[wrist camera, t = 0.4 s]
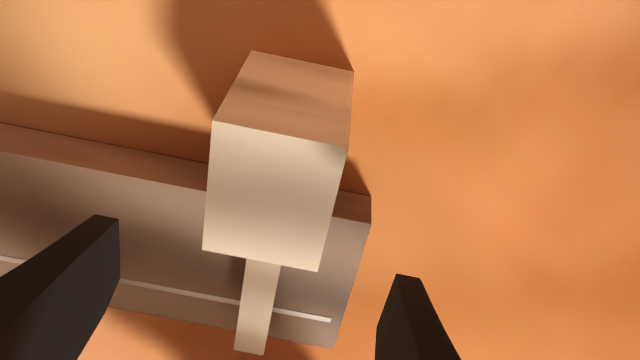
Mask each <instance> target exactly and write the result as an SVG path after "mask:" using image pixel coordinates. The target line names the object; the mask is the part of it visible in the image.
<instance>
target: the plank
mask: <svg viewBox="0 0 640 360" xmlns="http://www.w3.org/2000/svg"><path fill="white" fill-rule="evenodd" d="M208 167H209V164H205V163H200V162H195V161H190V160H185V159H180V158H175V157H170V156H165V155H160V154H155V153H150V152H145V151H140V150H135V149H130V148H125V147H120V146H115V145H110V144H105V143H100V142H95V141H90V140H84V139H79V138H74V137H69V136H64V135H59V134H54V133H49V132H44V131H39V130H34V129H29V128H24V127H19V126H14V125H9V124H4V123H0V277H1V276H2V275H4V274H6V273H7V272H9V271H11V270H12V269H14V268H16V267H17V266H19V265H20V264H22V263H24V262H25V261H27V260H28V259H30V258H31V257H33V256H34V255H36V254H37V253H39V252H40V251H42V250H43V249H45V248H46V247H48V246H49V245H51V244H52V243H54V242H55V241H57V240H58V239H60V238H61V237H62V236H64V235H65V234H67V233H68V232H70V231H71V230H72V229H74V228H75V227H77V226H78V225H80V224H81V223H82V222H84V221H85V220H87V219H88V218H90V217H91V216H93V215H95V214H97V215H102V216H107V217H112V218H117V219H119V238H120V275H121V277H120V280H119V282H118V284H117V287H116V289H115V291H114V294H113V296H112V298H111V301H110V303H109V305H108V307H112V308H117V309H123V310H128V311H133V312H139V313H144V314H149V315H155V316H160V317H165V318H170V319H176V320H181V321H186V322H192V323H197V324H202V325H208V326H213V327H218V328H224V329H229V330H234V331H236V329H237V322H238V315H239V308H240V301H241V294H242V287H243V280H244V273H245V266H246V259H247V258H241V257H236V256H231V255H226V254H221V253H216V252H211V251H205V250H202V243H203V230H204V217H205V205H206V192H207V180H208ZM370 227H371V196H366V195H361V194H356V193H351V192H346V191H341V190H338V192H337V196H336V200H335V204H334V208H333V212H332V216H331V220H330V224H329V228H328V232H327V236H326V240H325V244H324V248H323V252H322V256H321V260H320V264H319V268H318V272H313V271H308V270H303V269H298V268H293V267H288V266H283V265H281V268H280V273H279V279H278V284H277V289H276V294H275V299H274V304H273V309H272V315H271V320H270V325H269V330H268V335H267V337H271V338H277V339H282V340H287V341H293V342H298V343H303V344H309V345H314V346H319V347H325V348H330V349H333V348H334V345H335V341H336V338H337V335H338V331H339V328H340V325H341V322H342V318H343V315H344V312H345V309H346V305H347V302H348V299H349V295H350V292H351V289H352V286H353V282H354V279H355V276H356V273H357V269H358V266H359V263H360V259H361V256H362V253H363V250H364V246H365V243H366V240H367V237H368V233H369V230H370Z"/></svg>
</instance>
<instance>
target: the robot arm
mask: <svg viewBox="0 0 640 360" xmlns="http://www.w3.org/2000/svg"><path fill="white" fill-rule="evenodd" d="M120 277H121V275H120V238H119V219H117V218H112V217H107V216H102V215H97V214H95V215H93V216H91V217H90V218H88V219H87V220H85V221H84V222H82V223H81V224H80V225H78V226H77V227H75V228H74V229H72V230H71V231H70V232H68V233H67V234H65V235H64V236H62V237H61V238H60V239H58V240H57V241H55V242H54V243H52V244H51V245H49V246H48V247H46V248H45V249H43V250H42V251H40V252H39V253H37V254H36V255H34V256H33V257H31V258H30V259H28V260H27V261H25V262H24V263H22V264H20V265H19V266H17V267H16V268H14V269H12V270H11V271H9V272H7V273H6V274H4V275H2V276H1V277H0V360H77V359H78V357H79V355H80V354H81V352H82V350H83V349H84V347H85V345H86V344H87V342H88V340H89V339H90V337H91V335H92V334H93V332H94V330H95V329H96V327H97V325H98V324H99V322H100V320H101V319H102V317H103V315H104V313H105V312H106V309H107V307H108V305H109V303H110V301H111V298H112V296H113V294H114V291H115V289H116V287H117V284H118V282H119V280H120ZM375 360H461V359H460V357H459V355H458V353H457V352H456V350H455V348H454V346H453V344H452V342H451V340H450V339H449V337H448V335H447V333H446V331H445V329H444V327H443V325H442V323H441V321H440V319H439V317H438V315H437V313H436V311H435V309H434V307H433V305H432V303H431V301H430V299H429V296H428V294H427V292H426V290H425V288H424V285H423V283H422V281H421V280H420V278H416V277H411V276H406V275H401V274H396V276H395V279H394V281H393V284H392V287H391V290H390V292H389V295H388V298H387V300H386V303H385V306H384V309H383V311H382V314H381V317H380V319H379V322H378V325H377V331H376V347H375Z"/></svg>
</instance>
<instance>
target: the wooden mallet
mask: <svg viewBox="0 0 640 360" xmlns="http://www.w3.org/2000/svg"><path fill="white" fill-rule="evenodd" d="M353 78H354V71H350V70H345V69H340V68H336V67H331V66H326V65H321V64H316V63H311V62H307V61H302V60H297V59H292V58H287V57H282V56H278V55H273V54H268V53H263V52H258V51H253V50H251V52H250V54H249V56H248V57H247V59H246V61H245V63H244V65H243V66H242V68H241V70H240V72H239V73H238V75H237V77H236V79H235V81H234V82H233V84H232V86H231V88H230V90H229V91H228V93H227V95H226V97H225V98H224V100H223V102H222V104H221V106H220V107H219V109H218V111H217V113H216V115H215V116H214V118H213V120H212V129H211V142H210V154H209V167H208V180H207V192H206V205H205V217H204V230H203V243H202V250H205V251H211V252H216V253H221V254H226V255H231V256H236V257H241V258H247V259H246V266H245V273H244V280H243V287H242V294H241V301H240V308H239V315H238V322H237V329H236V336H235V343H234V350H236V351H241V352H246V353H252V354H257V355H262V356H263V355H264V350H265V345H266V340H267V335H268V330H269V325H270V320H271V315H272V309H273V304H274V299H275V294H276V289H277V284H278V279H279V273H280V268H281V265H283V266H288V267H293V268H298V269H303V270H308V271H313V272H318V268H319V264H320V260H321V256H322V252H323V248H324V244H325V240H326V236H327V232H328V228H329V224H330V220H331V216H332V212H333V208H334V204H335V200H336V196H337V192H338V188H339V184H340V180H341V176H342V172H343V168H344V164H345V160H346V156H347V152H348V148H349V134H350V120H351V106H352V92H353Z"/></svg>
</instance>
